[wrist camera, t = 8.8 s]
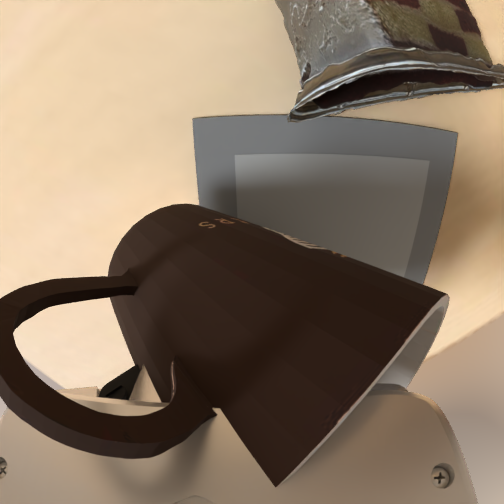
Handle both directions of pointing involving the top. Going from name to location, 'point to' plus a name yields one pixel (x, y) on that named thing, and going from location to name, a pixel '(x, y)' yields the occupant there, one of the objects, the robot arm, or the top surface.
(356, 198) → the mat
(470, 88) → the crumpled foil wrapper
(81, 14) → the top surface
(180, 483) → the robot arm
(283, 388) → the coffee mug
